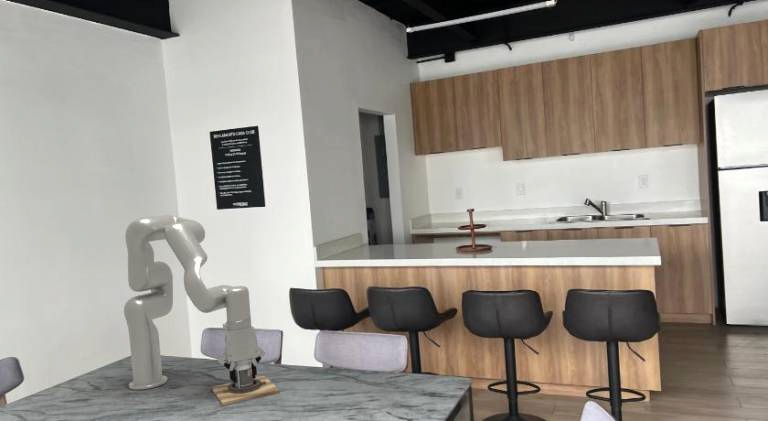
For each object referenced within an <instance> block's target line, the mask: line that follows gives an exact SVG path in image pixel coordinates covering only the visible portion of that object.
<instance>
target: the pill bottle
mask: <svg viewBox="0 0 768 421" xmlns="http://www.w3.org/2000/svg"><path fill="white" fill-rule="evenodd" d="M234 370H235V376H236V382H235V388H246V387H250V386H253V375H252V365H251V360H250V359H249V360H244V361H239V362H235V365H234Z"/></svg>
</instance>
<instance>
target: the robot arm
mask: <svg viewBox="0 0 768 421" xmlns="http://www.w3.org/2000/svg"><path fill="white" fill-rule="evenodd" d="M205 237H206V231H205V228H204V227H203V225H202V224H201V223H200V222H198V221H197V220H193V219H189V218H185V217H180V216H177V215H170V214H168V215H165V214H164V215H155V216H145V217H140V218H136V219H134V220H132V221H131V222H130V223H129V224H128V225H127V227H126V230H125V238H124V239H125V243H126V244H125V245H126V249H127V250H126V251H127V281H128V286H129V288H130V290H132V291H133V292H137V293H141V292H146V291H150V292H148V293H143V294H138V295H135V296H133V297H131V298H130V299H128V300H127V301H126V302H125V305H124V306H123V314H124V318H125V321H126V325H127V329H128V336H129V347H130V358H131V369H132V381H130V382H129V384H128V389H131V390H136V391H139V390H147V389H148V390H149V389H153V388H157V387H160V386H162V385H164V384H166V383H167V382H168V376H166V375H163V371H162V357H161V356H162V355H161V346H160V345H161V344H160V335H159V330H158V328H157V326H156V325H155V323H154V321H153V320H157V319H159V318H162V317H165V316H167V315H169V313H171V311H172V309H173V305H174V278H173V272H172V269H171V267H170V266H169V265H168V264H167V263H166V262H163V261H160V260H159V261H155V252H154V248H153V246H152V245H151V242H153V241H154V242H155V241H161V240H162V241H164V240H165V241H166V242H167V244H168V246H169V247H170V249H171V250H172V252H173V254H174V255H175V257H176V258H177V260H178V261H179V263H180V264H181V267H182V268H183V271H184V273H183V284H184V291H185V292H186V295H187V297H188V298H189V299H190V302H192V304H193V306H194V307H195V308H196V309H197V310H198V311H199V312H201V313H204V314H209V313H213V312H216V311H218V310H219V311H220V310H221V309H225V310H226V311H225V312H226V321H225V323H222V328H223V329H226V330H225V333H224V334H225V336H224V351H223V353H222V354H221V355H220V357H219V358H218V359H217V362H218V363H219V364H220V365H222V366H224V368H227V370H228V371H229V380H230V381H232V382H233V383H235V382H236V376H235V370H234V366H235V365H236V363H235V362H239V361H244V360H249V359H250V364H251V365H252V375H253V378H254V379H255V378H256V376H257V375H258V371H257V366H258V364H259V362H260V361H261V360H262V358H263V357H264V356H265V355H266V351H264V350H263V349H262V348H261V347H260V346H259V344H258V338H257V332H256V330H255V327H254V326H252V317H251V315H252V314H251V306H250V304H251V303H250V290H249V288H248V287H247V286H244V285H236V286H232V285H228V284H222V285H221V284H220V285H217V286H213V287H209V288H207V286H206V285H205V284H204V281H203V280H202V278H201V269H202V268H201V267H203V266H204V265H205V264H206V262H207V261H208V254H207V253H206V251H205V249H203V247H202V246H201V243H202V242H203V241H204V240H205ZM225 359H226V360H227V361H228V362H226V361H225Z"/></svg>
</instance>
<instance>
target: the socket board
mask: <svg viewBox="0 0 768 421" xmlns="http://www.w3.org/2000/svg"><path fill="white" fill-rule="evenodd" d="M280 391H281V390H280V388H279V387H278V386H276V385H275V383H273V382H272V381H271V380H270V379H269V378H268V377H267V376H266V375H261V376H257V377H256V378H255V379H254V378H253V386H250V387H246V388H235V383H233V381H232V382H228V383H224V384H219V385H215V386H211V392H213V394H214V395H215V397H216V399H217V400H218V401H219V403H220V404H221V406H222V407H223V406H226V405H227V406H228V405H232V404H236V403H241V402H246V401H249V400H253V399H258V398H259V399H260V398H263V397H267V396H270V395H276V394H280Z"/></svg>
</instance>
